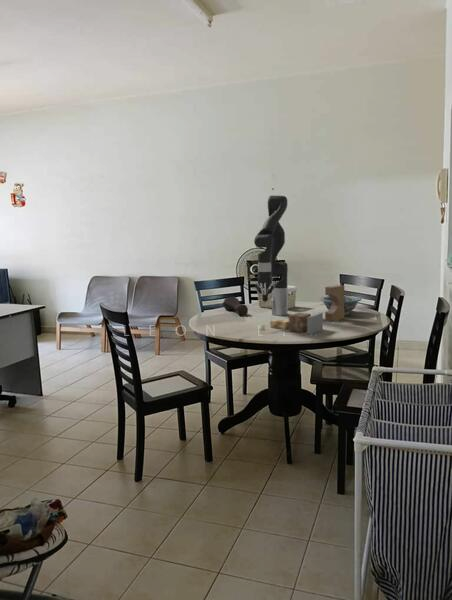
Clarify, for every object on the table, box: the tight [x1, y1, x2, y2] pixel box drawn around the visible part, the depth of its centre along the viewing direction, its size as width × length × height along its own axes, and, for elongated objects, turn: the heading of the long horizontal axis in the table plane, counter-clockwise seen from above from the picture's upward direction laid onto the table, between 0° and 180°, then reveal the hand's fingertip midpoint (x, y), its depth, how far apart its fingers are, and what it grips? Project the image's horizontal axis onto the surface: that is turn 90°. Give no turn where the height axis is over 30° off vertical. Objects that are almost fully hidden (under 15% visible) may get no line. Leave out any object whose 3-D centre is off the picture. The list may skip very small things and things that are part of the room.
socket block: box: [288, 312, 312, 333], centre depth 259 cm, size 8×10×8 cm
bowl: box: [320, 295, 362, 316], centre depth 302 cm, size 25×25×10 cm
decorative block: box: [324, 284, 345, 322], centre depth 282 cm, size 11×6×20 cm, turn 124°
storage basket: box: [256, 285, 298, 309], centre depth 332 cm, size 24×16×15 cm
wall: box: [306, 312, 324, 335], centre depth 254 cm, size 2×14×9 cm, turn 144°
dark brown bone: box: [222, 296, 249, 317], centre depth 318 cm, size 11×10×28 cm
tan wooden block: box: [269, 319, 289, 330], centre depth 267 cm, size 10×4×4 cm, turn 56°
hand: (265, 301), depth 271 cm, fingers closed
